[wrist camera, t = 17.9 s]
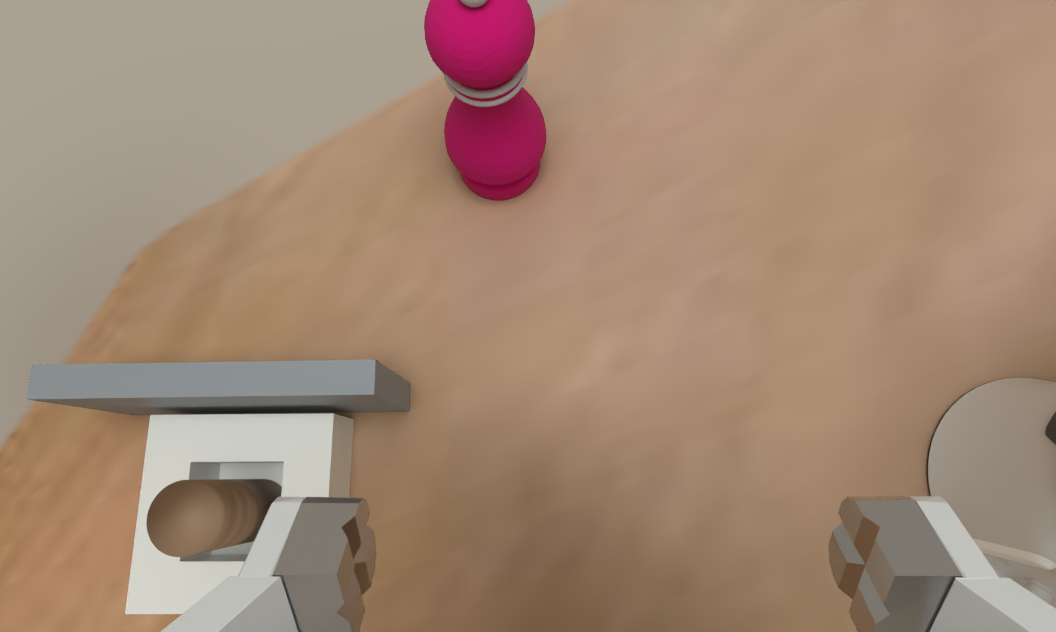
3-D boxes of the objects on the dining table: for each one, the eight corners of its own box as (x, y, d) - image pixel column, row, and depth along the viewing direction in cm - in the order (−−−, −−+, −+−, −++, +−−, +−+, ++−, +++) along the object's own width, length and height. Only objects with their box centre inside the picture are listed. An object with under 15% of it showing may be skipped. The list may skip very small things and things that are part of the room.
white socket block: (345, 599, 45) (321, 613, 40) (170, 599, 45) (125, 613, 41) (355, 419, 48) (333, 413, 43) (190, 421, 48) (150, 414, 43)
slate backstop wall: (409, 411, 47) (374, 394, 38) (131, 414, 48) (26, 399, 38) (410, 383, 48) (375, 359, 38) (135, 387, 48) (32, 364, 39)
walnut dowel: (300, 512, 46) (235, 522, 36) (253, 552, 45) (172, 573, 35) (267, 466, 46) (193, 464, 37) (219, 505, 46) (132, 513, 36)
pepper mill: (438, 144, 52) (374, -52, 33) (521, 107, 53) (506, -109, 33) (477, 222, 51) (434, 63, 31) (562, 182, 51) (572, 2, 32)
